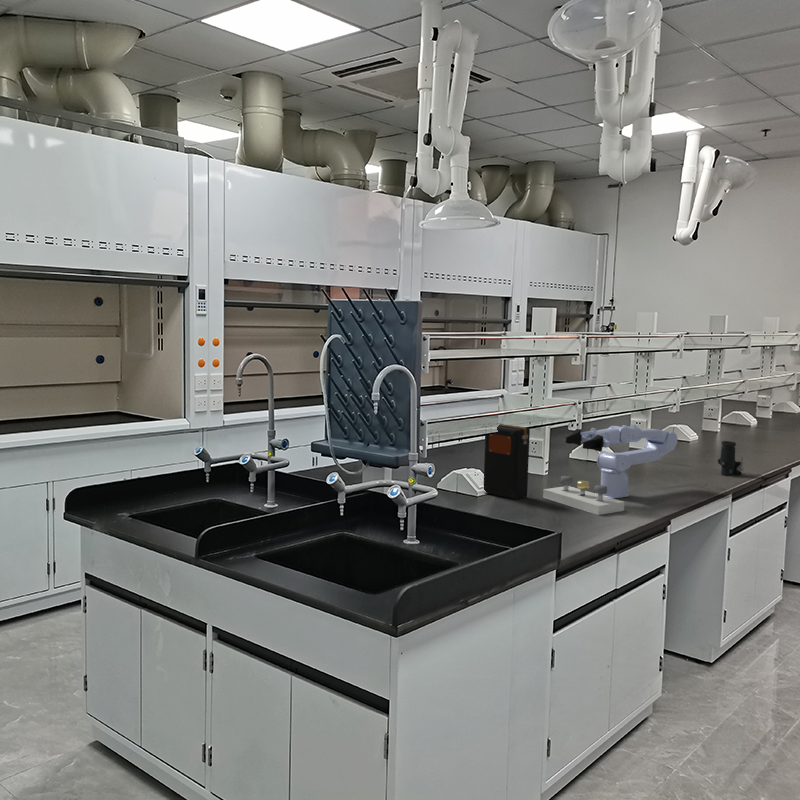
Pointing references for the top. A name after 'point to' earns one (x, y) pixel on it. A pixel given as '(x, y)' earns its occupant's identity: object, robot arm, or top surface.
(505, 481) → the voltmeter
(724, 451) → the scope
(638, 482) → the top surface
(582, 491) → the pot knob
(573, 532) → the top surface
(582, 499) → the mount plate
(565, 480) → the knob
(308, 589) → the top surface
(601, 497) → the knob
